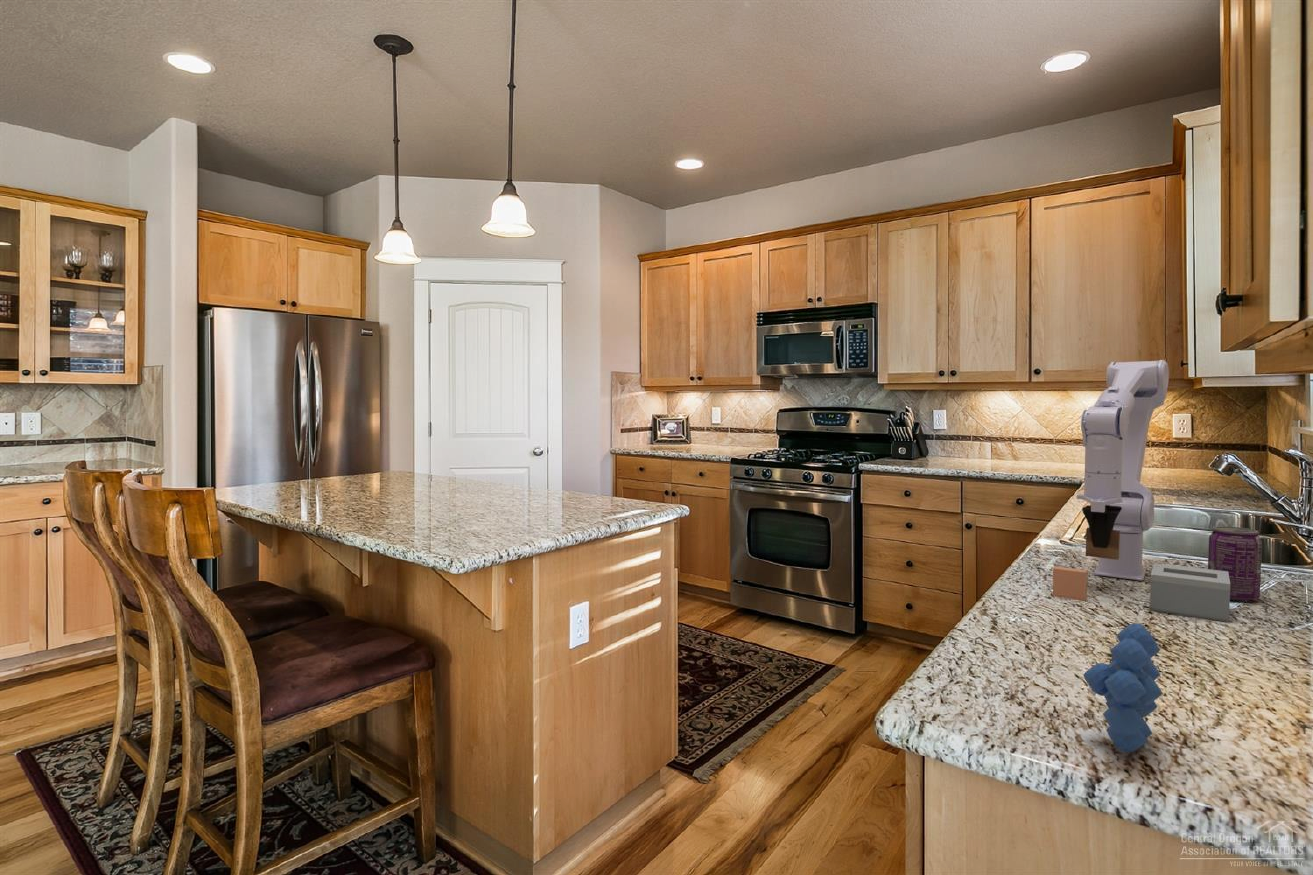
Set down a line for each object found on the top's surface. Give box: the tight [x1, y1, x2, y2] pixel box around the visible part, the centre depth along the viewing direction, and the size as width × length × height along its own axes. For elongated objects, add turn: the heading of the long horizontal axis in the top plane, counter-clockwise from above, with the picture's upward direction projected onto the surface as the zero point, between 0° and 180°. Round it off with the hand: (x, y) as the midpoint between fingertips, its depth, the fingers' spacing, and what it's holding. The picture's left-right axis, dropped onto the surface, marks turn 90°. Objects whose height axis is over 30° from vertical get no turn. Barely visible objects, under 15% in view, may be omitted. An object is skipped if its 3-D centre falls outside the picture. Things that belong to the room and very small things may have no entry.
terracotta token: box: [1052, 565, 1089, 602], centre depth 121 cm, size 2×5×5 cm, turn 52°
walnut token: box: [1085, 527, 1120, 560], centre depth 126 cm, size 2×5×5 cm, turn 52°
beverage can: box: [1207, 525, 1263, 602], centre depth 120 cm, size 7×7×12 cm
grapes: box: [1082, 622, 1163, 754], centre depth 69 cm, size 12×7×12 cm, turn 136°
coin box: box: [1149, 562, 1231, 623], centre depth 114 cm, size 10×10×6 cm
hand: (1101, 546), depth 126 cm, fingers closed on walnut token, 2 cm apart
